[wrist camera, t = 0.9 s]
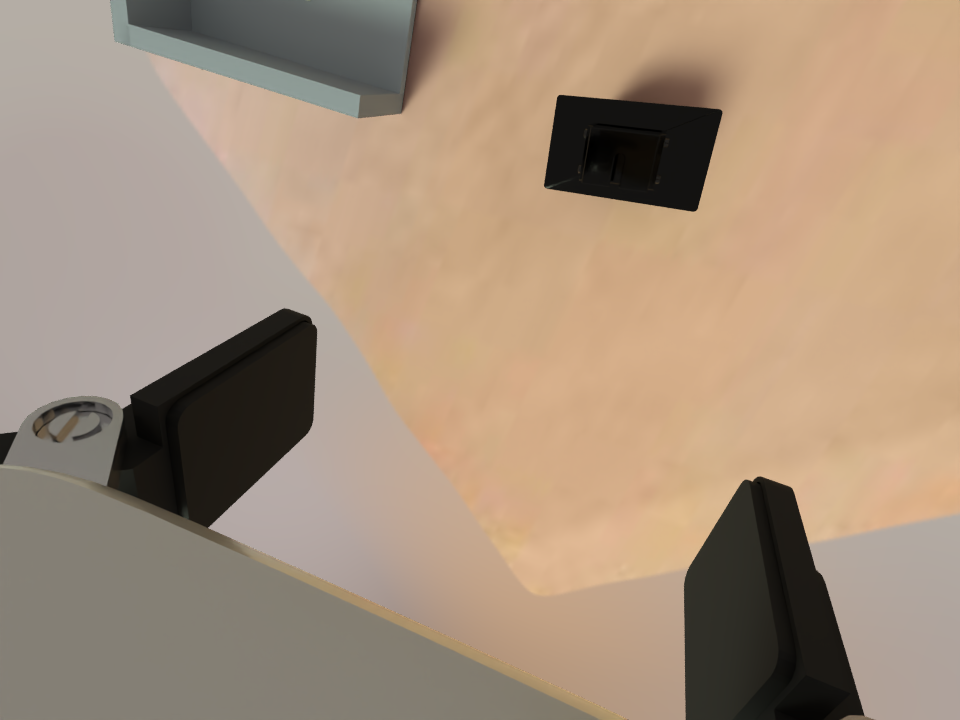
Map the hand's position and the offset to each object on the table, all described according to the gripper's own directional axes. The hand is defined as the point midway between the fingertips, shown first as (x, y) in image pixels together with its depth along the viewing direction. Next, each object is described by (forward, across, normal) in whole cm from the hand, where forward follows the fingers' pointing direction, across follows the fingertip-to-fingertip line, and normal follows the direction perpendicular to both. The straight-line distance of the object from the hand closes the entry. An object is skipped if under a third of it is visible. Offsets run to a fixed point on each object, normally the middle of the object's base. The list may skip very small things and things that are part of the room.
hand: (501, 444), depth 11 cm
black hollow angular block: (+27, +1, -3) cm, 27 cm away
